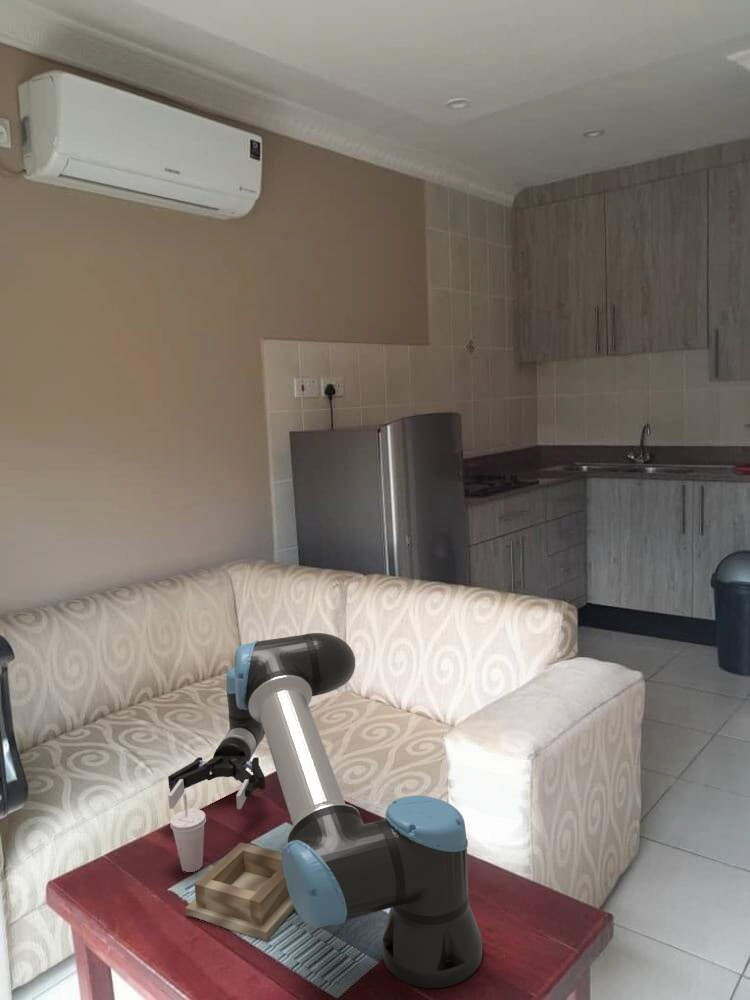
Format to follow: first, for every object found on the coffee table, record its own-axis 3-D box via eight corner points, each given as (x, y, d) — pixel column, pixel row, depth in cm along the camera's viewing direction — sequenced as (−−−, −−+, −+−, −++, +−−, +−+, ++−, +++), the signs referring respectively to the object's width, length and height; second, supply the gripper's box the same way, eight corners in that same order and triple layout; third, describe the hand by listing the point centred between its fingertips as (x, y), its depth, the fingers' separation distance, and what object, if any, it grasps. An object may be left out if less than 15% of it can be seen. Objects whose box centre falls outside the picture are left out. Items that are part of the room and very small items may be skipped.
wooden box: (314, 885, 136) (312, 856, 135) (266, 940, 123) (264, 908, 122) (239, 865, 143) (236, 837, 142) (186, 916, 130) (183, 885, 129)
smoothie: (200, 852, 148) (194, 783, 146) (216, 867, 143) (210, 795, 141) (168, 866, 144) (161, 795, 142) (183, 882, 139) (176, 808, 137)
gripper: (291, 768, 171) (268, 820, 150) (181, 768, 174) (144, 819, 153) (289, 736, 170) (265, 784, 149) (178, 736, 173) (140, 783, 152)
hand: (204, 802), depth 151 cm, fingers open, 13 cm apart
